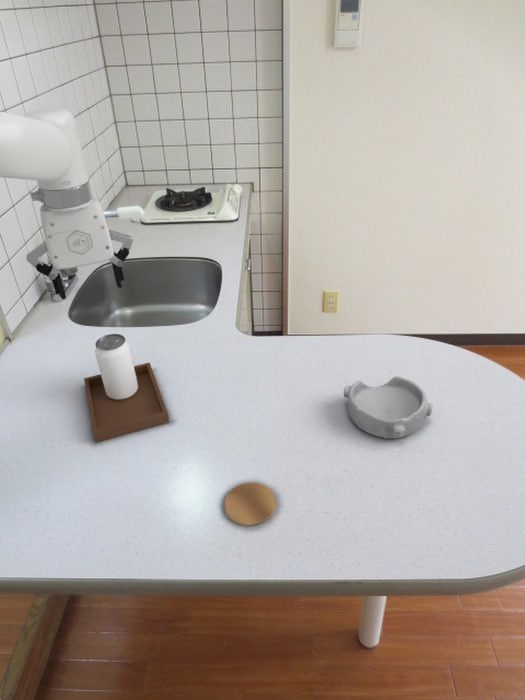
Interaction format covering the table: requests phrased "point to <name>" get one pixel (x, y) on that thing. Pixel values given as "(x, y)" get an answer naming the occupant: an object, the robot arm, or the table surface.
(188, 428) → the table surface
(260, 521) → the coaster
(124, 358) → the can
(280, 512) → the table surface
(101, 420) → the tray
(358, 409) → the dish
